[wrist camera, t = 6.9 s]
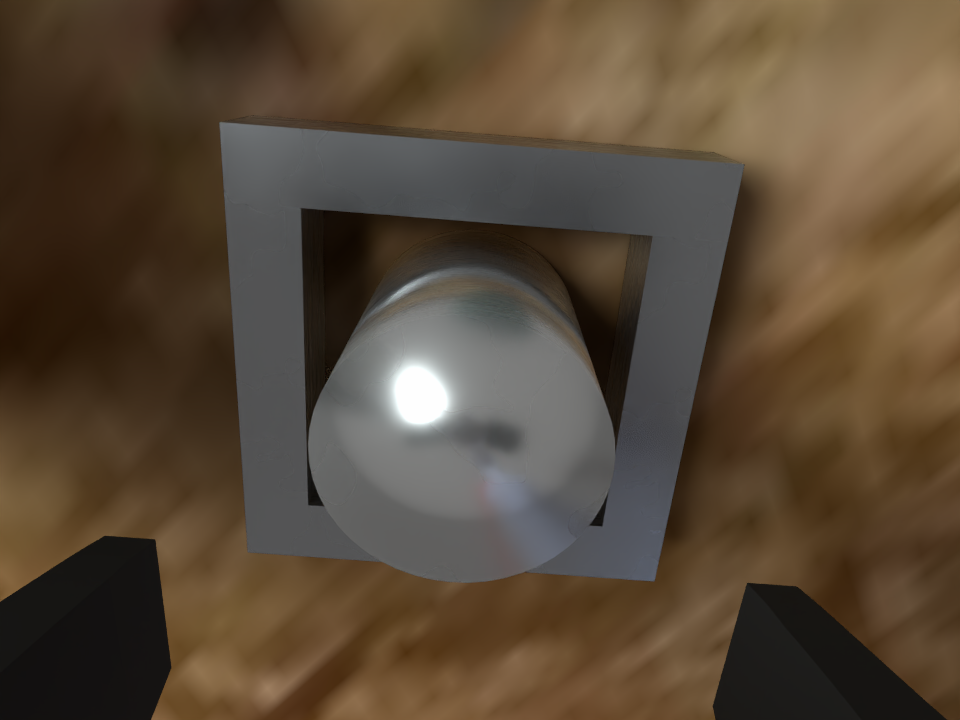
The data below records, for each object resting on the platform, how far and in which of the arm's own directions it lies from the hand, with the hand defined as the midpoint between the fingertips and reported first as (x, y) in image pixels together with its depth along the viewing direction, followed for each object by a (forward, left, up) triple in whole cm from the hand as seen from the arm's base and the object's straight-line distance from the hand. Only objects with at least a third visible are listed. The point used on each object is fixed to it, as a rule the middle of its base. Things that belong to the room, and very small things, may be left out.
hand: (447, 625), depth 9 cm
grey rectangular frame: (0, 0, -9) cm, 9 cm away
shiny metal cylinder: (0, -1, -9) cm, 9 cm away
